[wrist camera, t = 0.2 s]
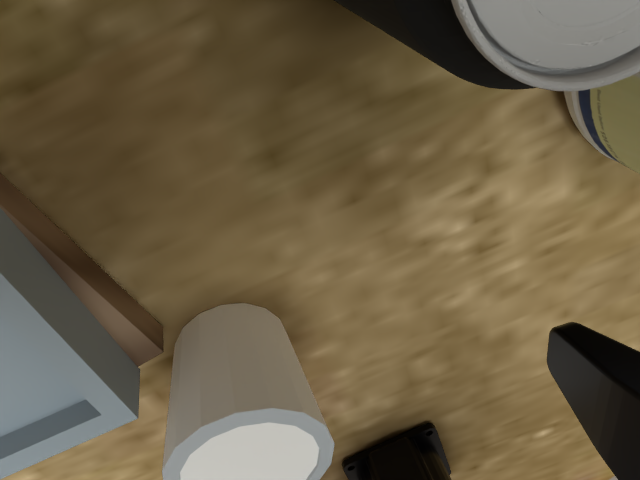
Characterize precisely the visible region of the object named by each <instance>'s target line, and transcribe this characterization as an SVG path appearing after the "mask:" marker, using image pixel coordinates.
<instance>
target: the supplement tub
mask: <svg viewBox="0 0 640 480" xmlns="http://www.w3.org/2000/svg"><path fill="white" fill-rule="evenodd" d="M564 95H565V99H566V103H567V106H568V109H569V112H570V115H571V117H572V119H573V121H574V123H575V125H576V126H577V128H578V129H579V131H580V132H581V134H582V135H583V137H584V138H585V139H586V140H587V141H588V142H589V143H590V144H592V145H593V146H594V147H595V148H596V149H597V150H598V151H599V152H600V153H602V154H603V155H605V156H606V157H608V158H610V159H612V160H615V161H617V162H619V163H621V164H623V165H624V166H626V167H628V168H630V169H632V170H633V171H635V172H637V173H639V174H640V72H638V73H636V74H634V75H632V76H630V77H627V78H625V79H622V80H620V81H617V82H615V83H612V84H610V85H606V86H602V87H598V88H593V89H588V90H581V91H564Z"/></svg>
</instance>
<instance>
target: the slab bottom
mask: <svg viewBox="0 0 640 480" xmlns="http://www.w3.org/2000/svg"><path fill="white" fill-rule="evenodd" d="M0 208H1V209H2V210H3V211H4V212H5V214H6V215H7V216H8V217H9V218H10V219H11V221H12V222H13V223H14V224H15V225H16V226H17V228H18V229H19V230H20V231H21V232H22V233H23V234H24V236H25V237H26V238H27V239H28V240H29V241H30V243H31V244H32V245H33V246H34V247H35V248H36V250H37V251H38V252H39V253H40V254H41V255H42V257H43V258H44V259H45V260H46V261H47V262H48V264H49V265H50V266H51V267H52V268H53V269H54V270H55V272H56V273H57V274H58V275H59V276H60V277H61V279H62V280H63V281H64V282H65V283H66V284H67V286H68V287H69V288H70V289H71V290H72V291H73V293H74V294H75V295H76V296H77V297H78V298H79V300H80V301H81V302H82V303H83V304H84V305H85V307H86V308H87V309H88V310H89V311H90V312H91V313H92V315H93V316H94V317H95V318H96V319H97V320H98V322H99V323H100V324H101V325H102V326H103V327H104V329H105V330H106V331H107V332H108V333H109V334H110V336H111V337H112V338H113V339H114V340H115V341H116V343H117V344H118V345H119V346H120V347H121V348H122V349H123V351H124V352H125V353H126V354H127V355H128V356H129V358H130V359H131V360H132V361H133V362H134V363H135V365H136V366H137V367H138V366H140V365H142V364H143V363H145V362H147V361H149V360H150V359H152V358H154V357H156V356H157V355H159V354H161V353H162V352H163V326H161V325H160V324H159V323H158V322H157V321H156V320H155V319H154V318H153V317H152V316H151V315H150V314H149V313H148V312H147V311H146V310H145V309H143V308H142V307H141V306H140V305H139V304H138V303H137V302H136V301H135V300H134V299H133V298H132V297H131V296H130V295H129V294H128V293H127V292H125V291H124V290H123V289H122V288H121V287H120V286H119V285H118V284H117V283H116V282H115V281H114V280H113V279H112V278H111V277H110V276H109V275H108V274H106V273H105V272H104V271H103V270H102V269H101V268H100V267H99V266H98V265H97V264H96V263H95V262H94V261H93V260H92V259H91V258H90V257H88V256H87V255H86V254H85V253H84V252H83V251H82V250H81V249H80V248H79V247H78V246H77V245H76V244H75V243H74V242H73V241H72V240H70V239H69V238H68V237H67V236H66V235H65V234H64V233H63V232H62V231H61V230H60V229H59V228H58V227H57V226H56V225H55V224H54V223H53V222H51V221H50V220H49V219H48V218H47V217H46V216H45V215H44V214H43V213H42V212H41V211H40V210H39V209H38V208H37V207H36V206H35V205H33V204H32V203H31V202H30V201H29V200H28V199H27V198H26V197H25V196H24V195H23V194H22V193H21V192H20V191H19V190H18V189H17V188H15V187H14V186H13V185H12V184H11V183H10V182H9V181H8V180H7V179H6V178H5V177H4V176H3V175H2V174H1V173H0Z"/></svg>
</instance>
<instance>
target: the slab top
mask: <svg viewBox="0 0 640 480" xmlns="http://www.w3.org/2000/svg"><path fill="white" fill-rule="evenodd" d="M139 384H140V369H139V368H138V367H137V366H136V365H135V363H134V362H133V361H132V360H131V359H130V358H129V356H128V355H127V354H126V353H125V352H124V351H123V349H122V348H121V347H120V346H119V345H118V344H117V343H116V341H115V340H114V339H113V338H112V337H111V336H110V334H109V333H108V332H107V331H106V330H105V329H104V327H103V326H102V325H101V324H100V323H99V322H98V320H97V319H96V318H95V317H94V316H93V315H92V313H91V312H90V311H89V310H88V309H87V308H86V307H85V305H84V304H83V303H82V302H81V301H80V300H79V298H78V297H77V296H76V295H75V294H74V293H73V291H72V290H71V289H70V288H69V287H68V286H67V284H66V283H65V282H64V281H63V280H62V279H61V277H60V276H59V275H58V274H57V273H56V272H55V270H54V269H53V268H52V267H51V266H50V265H49V264H48V262H47V261H46V260H45V259H44V258H43V257H42V255H41V254H40V253H39V252H38V251H37V250H36V248H35V247H34V246H33V245H32V244H31V243H30V241H29V240H28V239H27V238H26V237H25V236H24V234H23V233H22V232H21V231H20V230H19V229H18V228H17V226H16V225H15V224H14V223H13V222H12V221H11V219H10V218H9V217H8V216H7V215H6V214H5V212H4V211H3V210H2V209H1V208H0V479H2V478H4V477H6V476H9V475H11V474H13V473H15V472H18V471H20V470H22V469H24V468H27V467H29V466H31V465H34V464H36V463H38V462H40V461H43V460H45V459H47V458H49V457H52V456H54V455H56V454H58V453H61V452H63V451H65V450H67V449H70V448H72V447H74V446H77V445H79V444H81V443H83V442H86V441H88V440H90V439H92V438H95V437H97V436H99V435H101V434H104V433H106V432H108V431H111V430H113V429H115V428H117V427H120V426H122V425H124V424H126V423H129V422H131V421H133V420H135V419H138V409H139Z"/></svg>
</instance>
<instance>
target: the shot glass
mask: <svg viewBox="0 0 640 480" xmlns="http://www.w3.org/2000/svg"><path fill="white" fill-rule="evenodd" d="M333 450H334V441H333V439H332V437H331V434H330V432H329V430H328V427H327V425H326V423H325V420H324V418H323V416H322V413H321V411H320V409H319V407H318V404H317V402H316V400H315V397H314V395H313V393H312V390H311V388H310V386H309V383H308V381H307V379H306V376H305V374H304V372H303V370H302V367H301V365H300V363H299V360H298V358H297V356H296V353H295V351H294V349H293V346H292V344H291V342H290V339H289V337H288V335H287V333H286V331H285V328H284V326H283V324H282V322H281V320H280V318H278V317H277V316H275V315H274V314H273V313H271V312H270V311H269V310H267V309H266V308H263V307H259V306H255V305H251V304H247V303H237V304H225V305H219V306H217V307H214V308H212V309H209V310H207V311H204V312H202V313H199V314H198V315H197V316H196V317H195V318H193V319H192V320H191V321H190V322H189V323H188V324H187V325H185V326H184V327H183V328H182V330H181V333H180V335H179V337H178V339H177V341H176V343H175V347H174V357H173V367H172V377H171V387H170V397H169V407H168V418H167V428H166V438H165V448H164V458H163V468H162V474H163V480H320V478H321V477H322V476H323V474H324V473H325V471H326V470H327V469H328V467H329V466H330V465H331V461H332V455H333Z"/></svg>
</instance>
